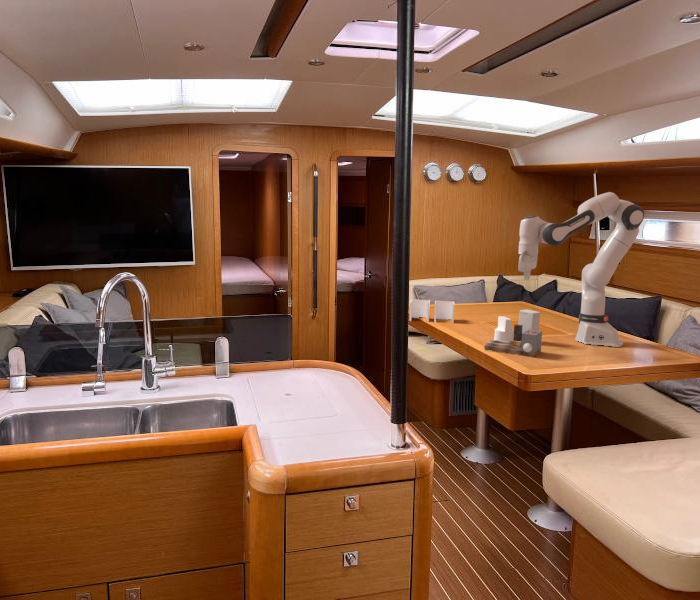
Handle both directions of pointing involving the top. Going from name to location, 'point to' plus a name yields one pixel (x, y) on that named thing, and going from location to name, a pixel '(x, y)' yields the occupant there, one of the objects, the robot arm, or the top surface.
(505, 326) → the base with upright slab
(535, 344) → the end cabinet
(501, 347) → the rail board
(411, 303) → the white slotted rack
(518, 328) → the carriage
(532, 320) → the skincare box
